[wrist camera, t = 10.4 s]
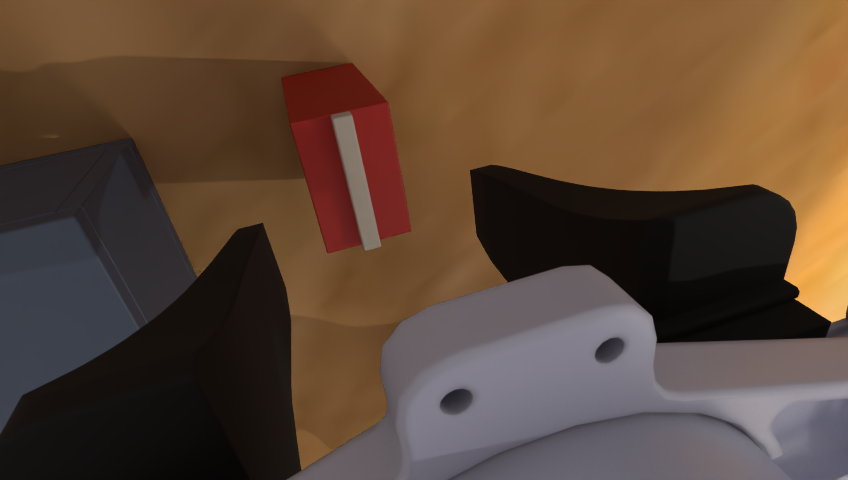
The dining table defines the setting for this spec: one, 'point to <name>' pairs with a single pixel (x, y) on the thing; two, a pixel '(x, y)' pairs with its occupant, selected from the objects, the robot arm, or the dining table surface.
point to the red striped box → (347, 156)
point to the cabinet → (79, 262)
